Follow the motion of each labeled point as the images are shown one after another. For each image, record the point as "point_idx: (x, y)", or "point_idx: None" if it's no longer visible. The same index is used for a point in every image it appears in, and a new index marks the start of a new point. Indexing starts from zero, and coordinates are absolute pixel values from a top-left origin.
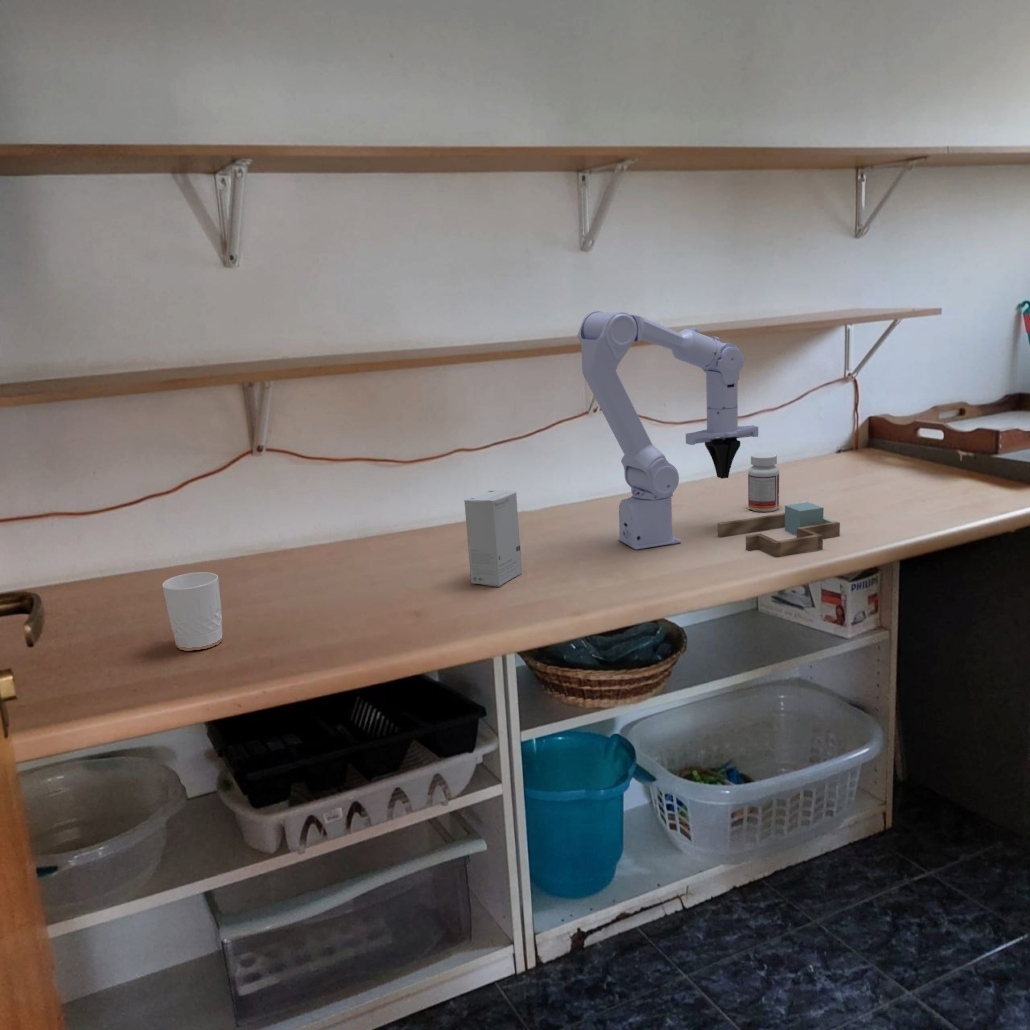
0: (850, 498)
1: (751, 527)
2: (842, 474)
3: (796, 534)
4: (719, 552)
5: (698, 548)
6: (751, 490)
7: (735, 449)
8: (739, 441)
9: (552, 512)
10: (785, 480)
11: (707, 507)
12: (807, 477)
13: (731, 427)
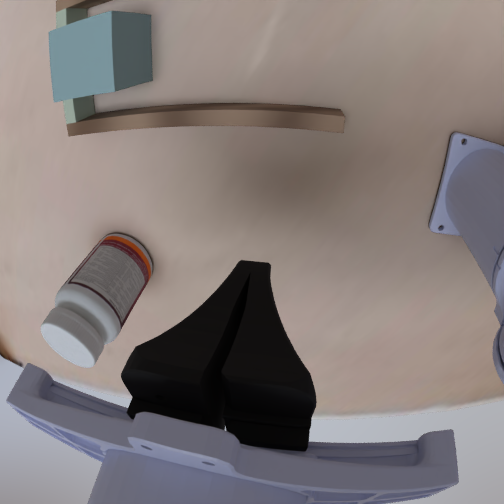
0: (3, 229)
1: (234, 105)
2: (12, 317)
3: (149, 28)
4: (419, 6)
5: (444, 68)
6: (133, 289)
7: (171, 341)
8: (127, 373)
9: (434, 395)
10: None
11: None
12: None
13: (158, 496)
